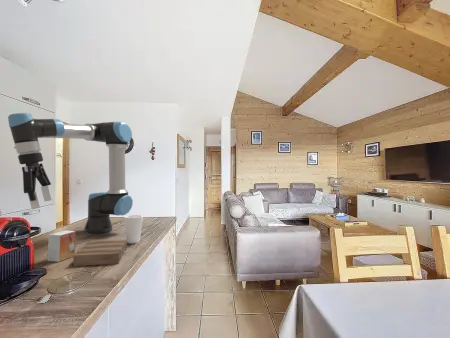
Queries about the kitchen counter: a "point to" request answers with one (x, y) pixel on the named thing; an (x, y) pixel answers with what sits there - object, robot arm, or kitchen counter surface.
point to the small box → (61, 245)
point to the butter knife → (45, 299)
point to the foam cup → (133, 227)
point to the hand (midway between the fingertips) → (42, 204)
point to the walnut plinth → (100, 252)
